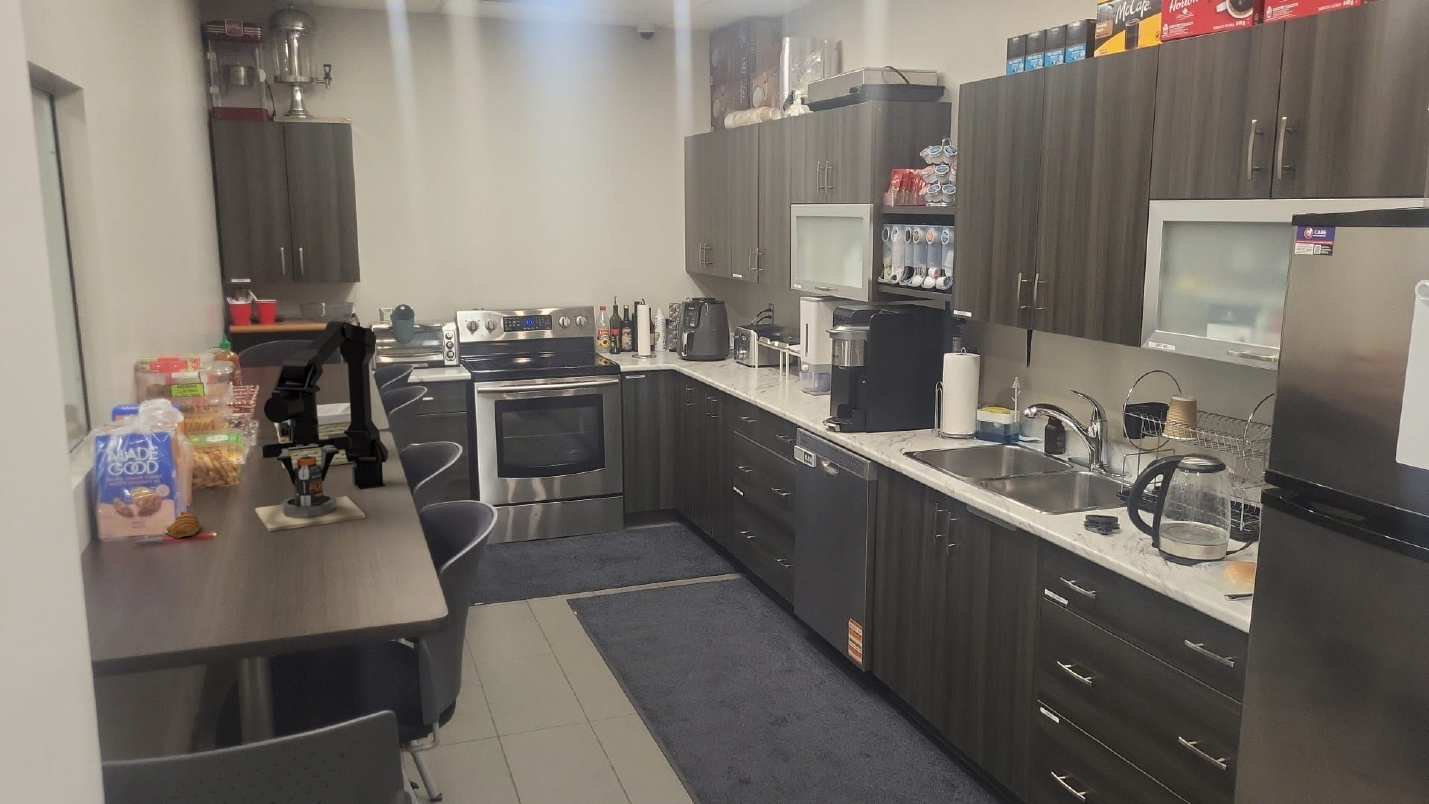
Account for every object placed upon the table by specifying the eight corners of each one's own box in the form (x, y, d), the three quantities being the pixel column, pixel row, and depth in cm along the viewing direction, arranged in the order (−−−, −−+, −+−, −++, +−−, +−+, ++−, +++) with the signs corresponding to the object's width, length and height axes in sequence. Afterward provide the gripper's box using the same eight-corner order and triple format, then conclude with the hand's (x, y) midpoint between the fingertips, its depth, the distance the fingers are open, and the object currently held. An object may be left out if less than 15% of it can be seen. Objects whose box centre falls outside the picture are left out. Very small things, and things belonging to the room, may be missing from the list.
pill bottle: (314, 511, 230) (310, 461, 228) (289, 509, 231) (286, 460, 229) (328, 503, 236) (325, 455, 234) (305, 502, 237) (302, 453, 235)
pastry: (204, 536, 218) (203, 519, 218) (168, 542, 214) (167, 524, 214) (197, 525, 226) (195, 508, 225) (162, 530, 222) (160, 513, 221)
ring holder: (346, 499, 247) (345, 485, 246) (365, 517, 232) (364, 503, 231) (255, 511, 236) (254, 497, 235) (269, 531, 221) (268, 516, 220)
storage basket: (277, 471, 273) (273, 416, 270) (275, 458, 288) (271, 406, 285) (372, 463, 283) (369, 410, 280) (365, 451, 297) (362, 400, 295)
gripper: (338, 404, 241) (342, 469, 244) (252, 412, 232) (257, 480, 234) (350, 412, 232) (354, 480, 235) (260, 420, 222) (265, 491, 225)
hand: (308, 482), depth 233 cm, fingers closed on pill bottle, 6 cm apart
